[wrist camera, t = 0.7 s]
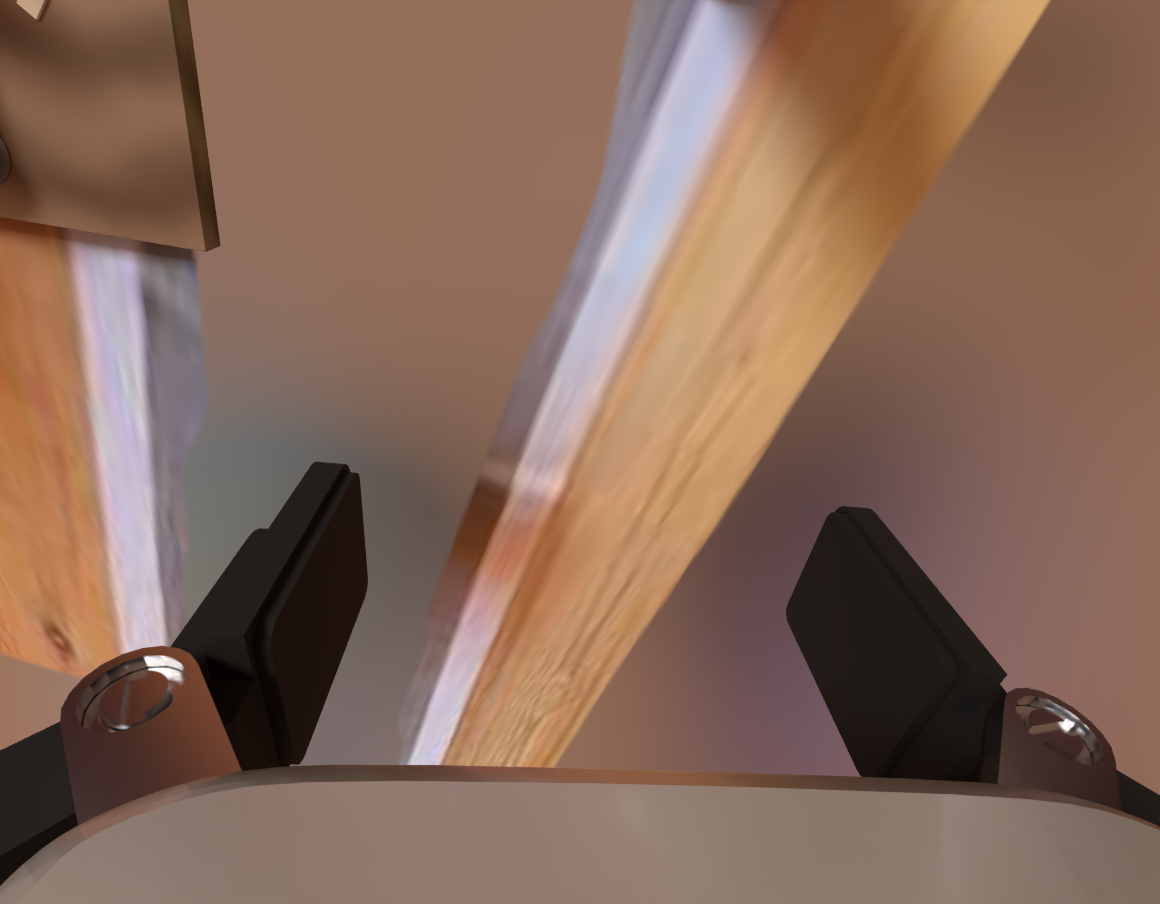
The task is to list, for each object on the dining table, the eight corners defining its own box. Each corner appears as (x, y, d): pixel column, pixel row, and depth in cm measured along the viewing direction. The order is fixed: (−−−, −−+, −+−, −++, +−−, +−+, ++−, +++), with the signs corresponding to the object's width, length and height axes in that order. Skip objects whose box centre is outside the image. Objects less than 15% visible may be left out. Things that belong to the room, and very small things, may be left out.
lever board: (-276, -310, 26) (-339, -342, 24) (161, -193, 29) (134, -214, 27) (-83, 193, 37) (-117, 197, 36) (220, 245, 40) (204, 252, 38)
